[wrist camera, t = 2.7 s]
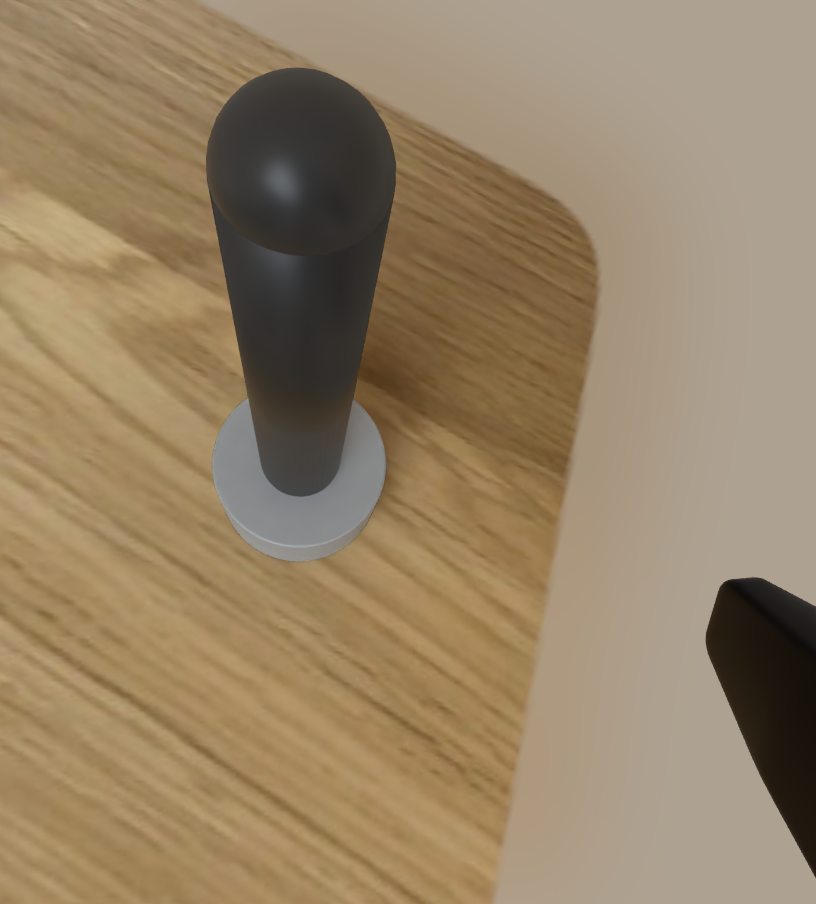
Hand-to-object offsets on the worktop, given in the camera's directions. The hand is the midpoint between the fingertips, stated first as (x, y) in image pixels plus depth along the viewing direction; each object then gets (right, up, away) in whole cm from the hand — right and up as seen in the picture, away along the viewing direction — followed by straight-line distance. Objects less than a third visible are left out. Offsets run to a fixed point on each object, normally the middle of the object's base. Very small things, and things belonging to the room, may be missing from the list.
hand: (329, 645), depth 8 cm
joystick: (-2, +1, +12) cm, 12 cm away
